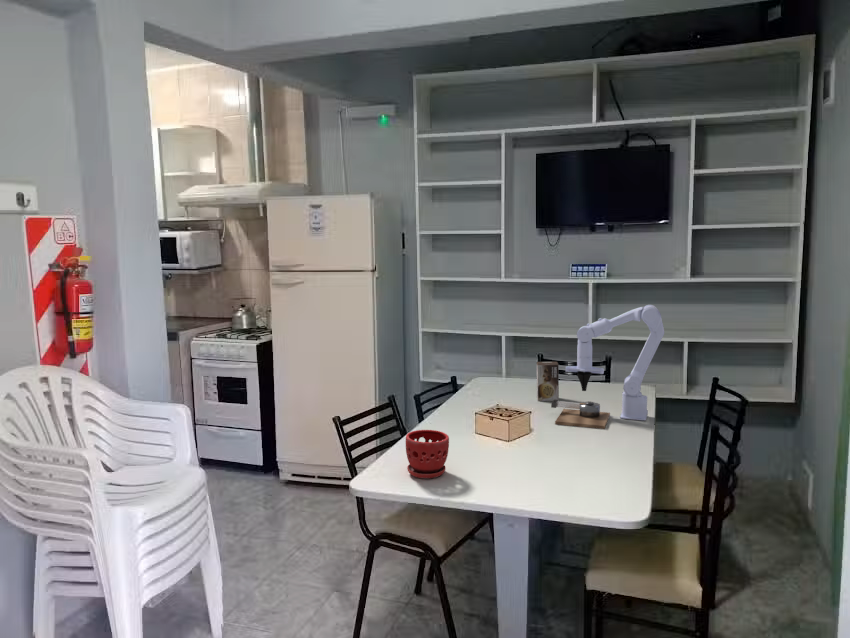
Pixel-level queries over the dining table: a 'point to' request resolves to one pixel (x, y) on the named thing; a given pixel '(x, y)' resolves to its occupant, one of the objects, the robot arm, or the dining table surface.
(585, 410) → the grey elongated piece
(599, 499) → the dining table surface
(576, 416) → the board
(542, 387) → the brown rectangular box
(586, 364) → the robot arm
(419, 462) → the plant pot
